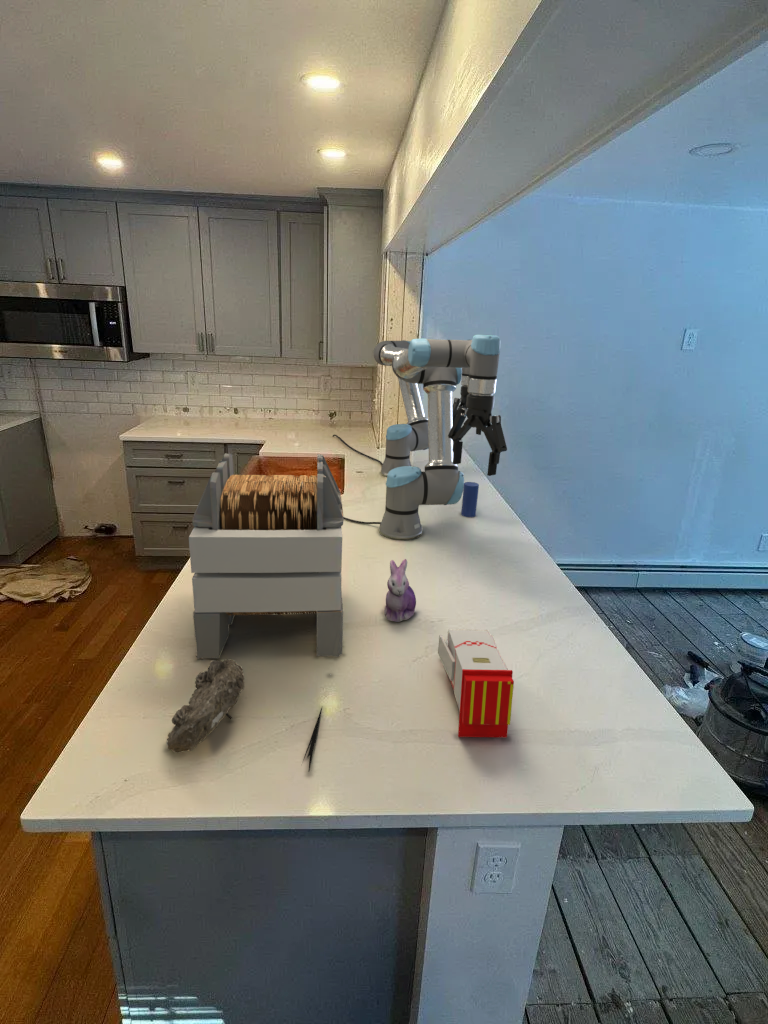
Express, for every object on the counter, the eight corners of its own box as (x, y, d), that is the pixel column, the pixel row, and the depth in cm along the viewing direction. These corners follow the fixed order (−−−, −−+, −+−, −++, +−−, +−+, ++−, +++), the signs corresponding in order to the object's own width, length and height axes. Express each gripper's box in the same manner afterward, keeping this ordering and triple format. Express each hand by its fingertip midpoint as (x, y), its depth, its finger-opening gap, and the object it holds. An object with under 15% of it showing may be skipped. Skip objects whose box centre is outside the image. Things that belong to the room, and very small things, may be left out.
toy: (488, 613, 130) (523, 677, 101) (484, 667, 133) (517, 744, 104) (435, 612, 130) (455, 676, 101) (432, 666, 133) (451, 743, 103)
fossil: (192, 660, 117) (244, 628, 112) (224, 691, 120) (276, 661, 115) (142, 746, 98) (202, 712, 93) (182, 779, 101) (242, 748, 96)
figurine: (392, 627, 141) (395, 572, 136) (374, 608, 149) (376, 556, 144) (425, 619, 145) (429, 566, 140) (405, 601, 154) (408, 550, 149)
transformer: (219, 588, 156) (210, 443, 142) (338, 587, 160) (340, 446, 146) (193, 661, 124) (179, 483, 110) (343, 657, 128) (346, 485, 114)
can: (478, 515, 222) (481, 484, 218) (470, 518, 218) (473, 487, 214) (466, 511, 226) (469, 481, 221) (458, 514, 222) (460, 483, 217)
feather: (331, 679, 122) (336, 673, 122) (307, 777, 96) (313, 769, 95) (324, 675, 122) (329, 669, 121) (298, 772, 95) (304, 764, 95)
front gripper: (526, 400, 148) (516, 478, 155) (458, 387, 166) (452, 457, 173) (507, 401, 143) (498, 482, 151) (439, 388, 162) (434, 460, 169)
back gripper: (451, 388, 232) (447, 439, 239) (498, 386, 244) (493, 435, 251) (440, 385, 239) (437, 435, 245) (487, 384, 250) (483, 431, 257)
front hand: (473, 469), depth 162 cm, fingers open, 13 cm apart
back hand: (465, 435), depth 248 cm, fingers open, 13 cm apart
